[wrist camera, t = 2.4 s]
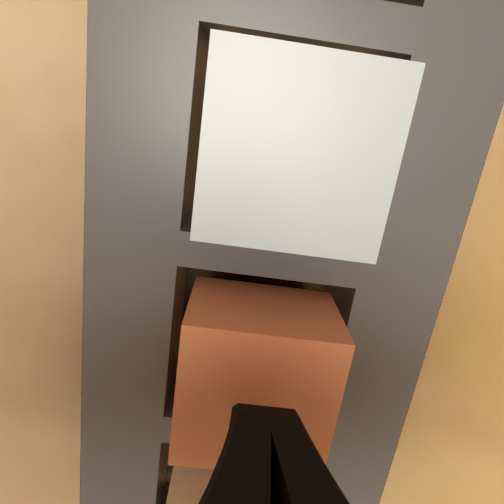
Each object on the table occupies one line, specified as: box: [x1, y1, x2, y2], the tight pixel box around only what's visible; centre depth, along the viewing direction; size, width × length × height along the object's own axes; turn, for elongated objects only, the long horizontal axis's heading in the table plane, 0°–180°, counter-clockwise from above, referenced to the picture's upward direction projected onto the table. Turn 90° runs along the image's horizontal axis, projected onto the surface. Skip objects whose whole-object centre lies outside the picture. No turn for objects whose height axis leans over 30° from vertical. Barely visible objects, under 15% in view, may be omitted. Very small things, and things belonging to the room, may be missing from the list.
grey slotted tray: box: [80, 0, 504, 504], centre depth 13 cm, size 10×26×3 cm, turn 172°
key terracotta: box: [168, 276, 356, 470], centre depth 11 cm, size 4×4×3 cm
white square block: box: [190, 29, 426, 264], centre depth 10 cm, size 4×4×3 cm
